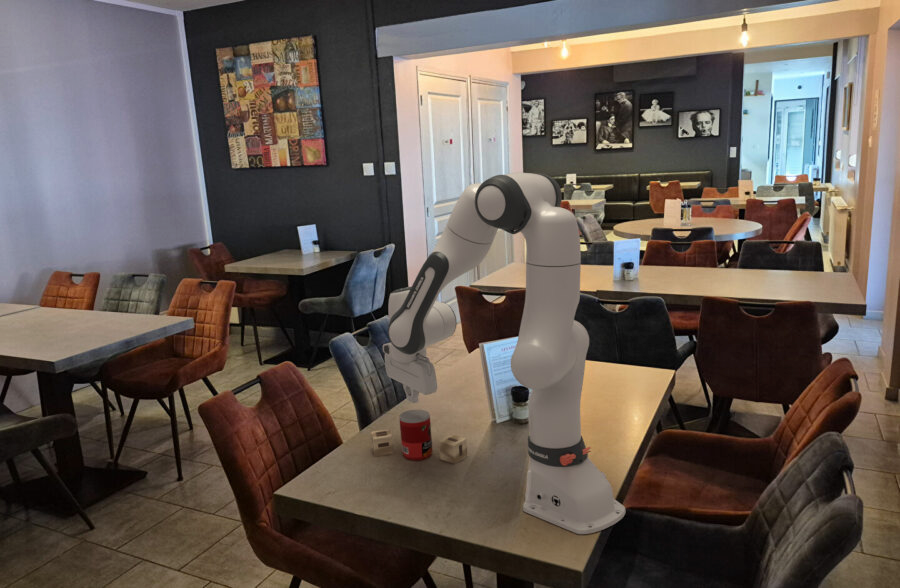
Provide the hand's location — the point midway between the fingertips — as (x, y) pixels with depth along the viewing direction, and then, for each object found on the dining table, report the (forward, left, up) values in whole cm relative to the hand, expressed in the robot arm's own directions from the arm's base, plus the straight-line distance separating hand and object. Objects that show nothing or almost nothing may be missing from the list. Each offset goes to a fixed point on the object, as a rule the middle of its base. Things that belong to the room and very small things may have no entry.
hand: (412, 401), depth 167 cm
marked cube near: (-8, -6, -15) cm, 18 cm away
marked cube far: (+8, +6, -15) cm, 18 cm away
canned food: (0, 0, -15) cm, 15 cm away
